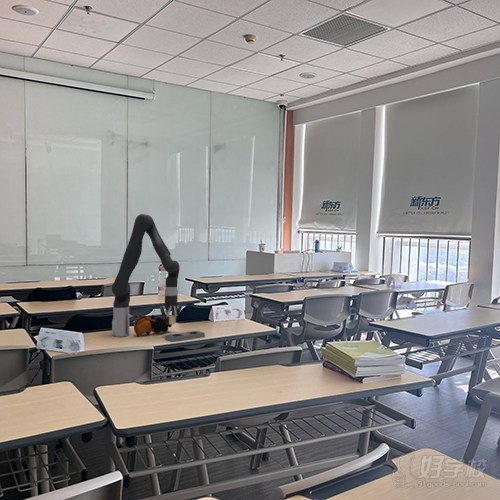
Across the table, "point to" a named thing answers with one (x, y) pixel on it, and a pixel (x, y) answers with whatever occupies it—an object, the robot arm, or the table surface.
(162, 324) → the toy guinea pig
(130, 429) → the table surface
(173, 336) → the grey flat block
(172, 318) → the yellow cube
